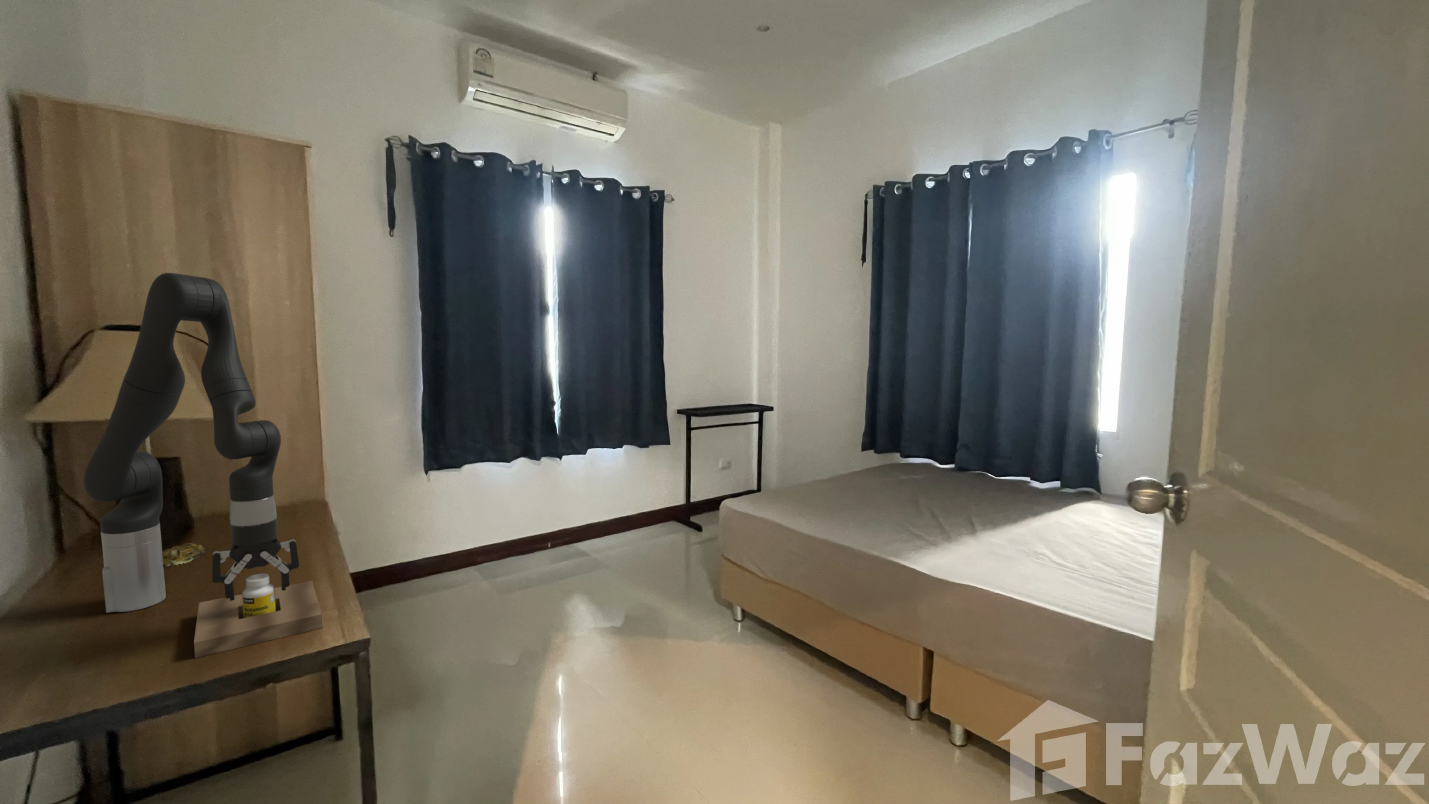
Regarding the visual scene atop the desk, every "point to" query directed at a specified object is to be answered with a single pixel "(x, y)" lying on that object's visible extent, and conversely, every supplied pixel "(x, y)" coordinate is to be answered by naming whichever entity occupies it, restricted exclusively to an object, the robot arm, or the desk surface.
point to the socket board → (255, 620)
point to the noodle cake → (182, 554)
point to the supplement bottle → (258, 596)
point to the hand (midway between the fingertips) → (258, 594)
